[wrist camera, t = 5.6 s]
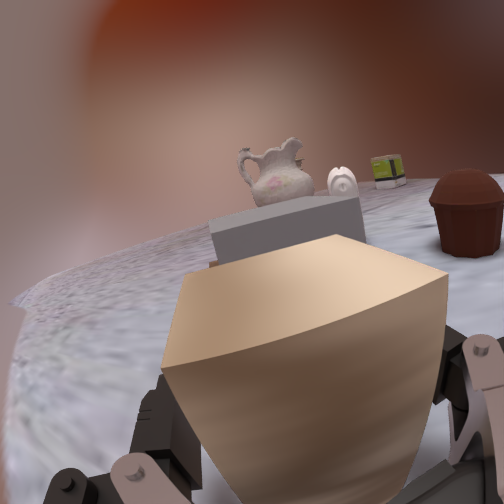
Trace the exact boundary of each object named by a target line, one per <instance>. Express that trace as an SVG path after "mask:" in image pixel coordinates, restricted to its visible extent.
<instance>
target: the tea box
mask: <svg viewBox="0 0 504 504" xmlns="http://www.w3.org/2000/svg"><path fill="white" fill-rule="evenodd" d="M371 163H372V168H373V173H374V178H375V182H376V187H377V190H380V189H391V188H396V187H399V186H401V185H404V184H406V179H405V174H404V169H403V165H402V160H401V156H400V154H398V155H389V156H382V157H376V158H372V159H371Z"/></svg>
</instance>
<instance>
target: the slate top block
mask: <svg viewBox="0 0 504 504" xmlns="http://www.w3.org/2000/svg"><path fill="white" fill-rule="evenodd" d="M208 223H209V227H210V232H211V236H212V240H213V244H214V247H215V251H216V255H217V258H218V262H219V265H223V264H226V263H230V262H234V261H238V260H242V259H245V258H249V257H253V256H257V255H261V254H264V253H268V252H272V251H276V250H279V249H283V248H287V247H291V246H294V245H298V244H302V243H306V242H309V241H313V240H317V239H320V238H324V237H328V236H332V235H335V234H337V235H340V236H343V237H347V238H350V239H353V240H356V241H359V242H362V243H365V244H366V238H365V231H364V224H363V218H362V212H361V206H360V200H359V197H347V196H305V197H300V198H296V199H292V200H287V201H283V202H279V203H275V204H271V205H266V206H262V207H258V208H254V209H250V210H247V211H243V212H238V213H235V214H231V215H227V216H223V217H219V218H216V219H212V220H208Z"/></svg>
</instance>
